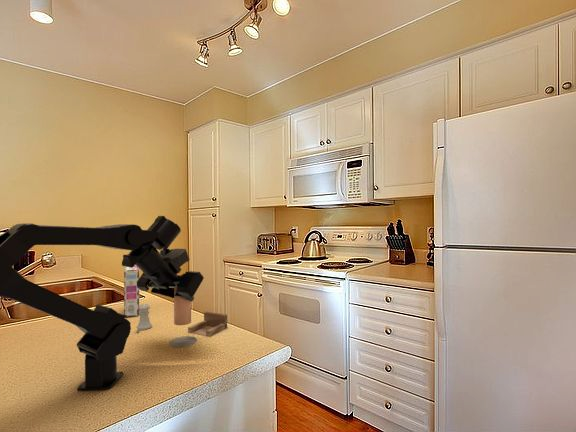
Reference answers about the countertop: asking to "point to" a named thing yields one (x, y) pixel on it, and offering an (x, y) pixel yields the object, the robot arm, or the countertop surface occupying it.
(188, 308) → the spice jar
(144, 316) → the rook chess piece
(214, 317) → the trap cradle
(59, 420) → the countertop surface
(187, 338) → the slate coaster
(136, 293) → the candy bar box
